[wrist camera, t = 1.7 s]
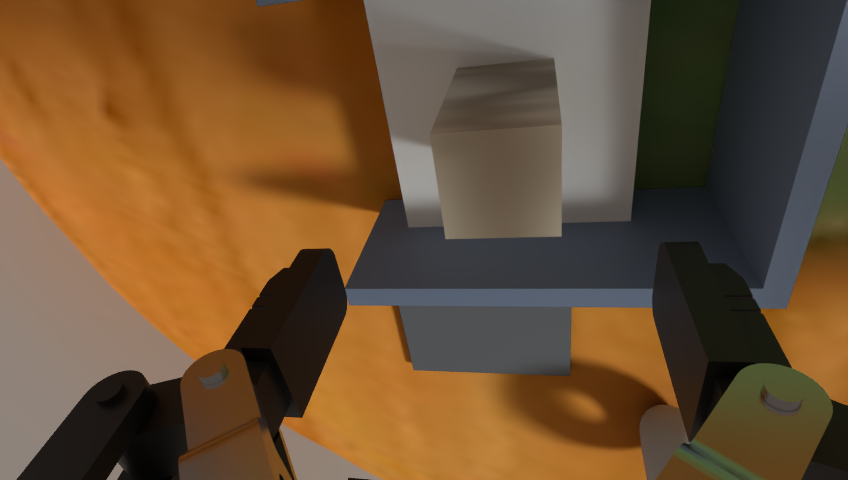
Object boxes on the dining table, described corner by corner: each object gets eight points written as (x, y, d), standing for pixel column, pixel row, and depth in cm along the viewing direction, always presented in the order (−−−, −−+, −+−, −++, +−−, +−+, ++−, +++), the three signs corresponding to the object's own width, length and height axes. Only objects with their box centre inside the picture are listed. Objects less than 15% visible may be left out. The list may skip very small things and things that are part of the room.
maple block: (554, 58, 20) (561, 124, 15) (554, 148, 23) (561, 236, 17) (456, 67, 21) (429, 134, 16) (466, 154, 24) (445, 239, 18)
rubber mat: (571, 238, 29) (572, 244, 28) (569, 369, 35) (570, 376, 34) (387, 242, 31) (385, 248, 31) (415, 363, 37) (413, 370, 37)
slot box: (793, -132, 18) (935, -139, 12) (723, 202, 26) (786, 308, 19) (329, -54, 22) (247, -28, 16) (388, 214, 30) (349, 305, 24)
